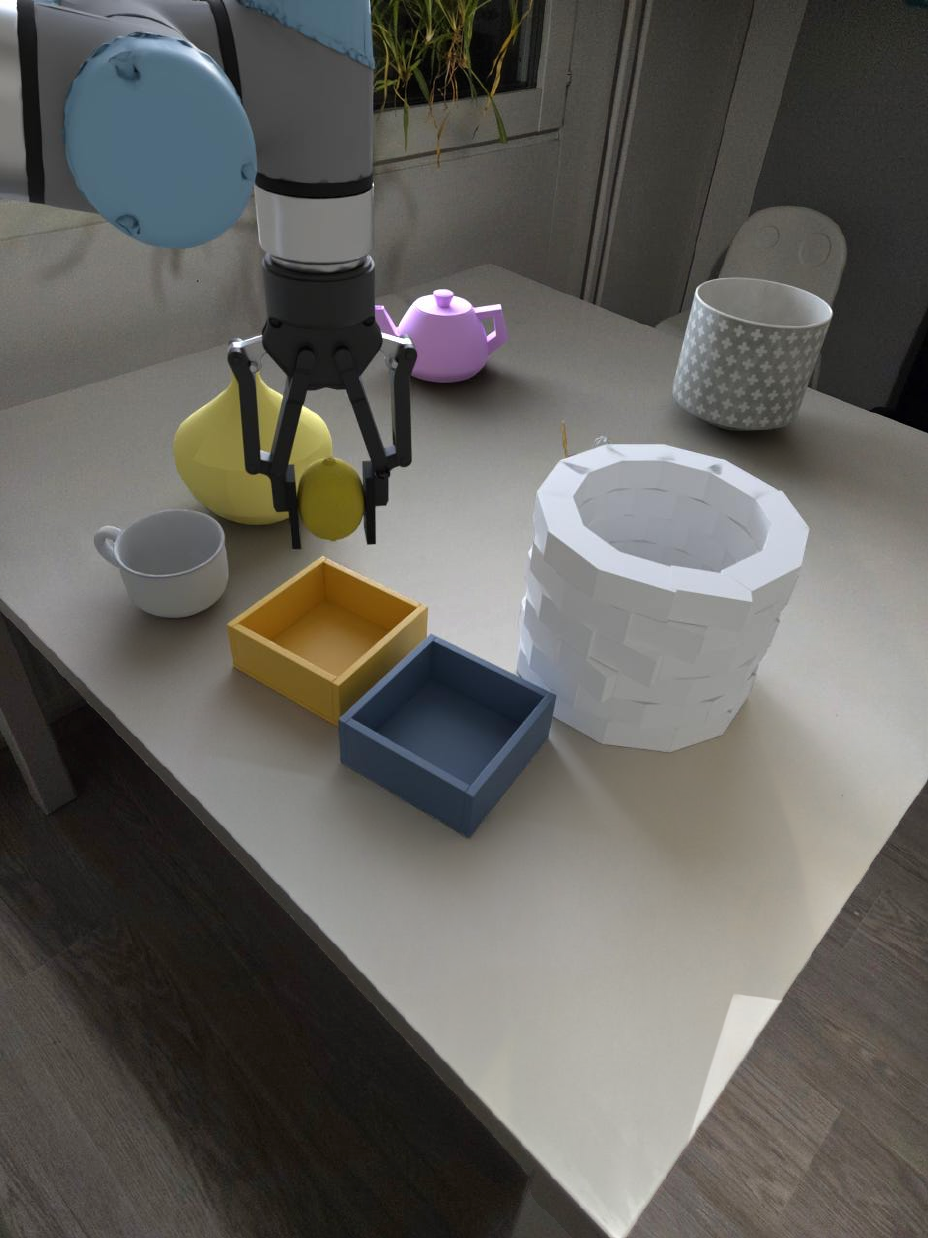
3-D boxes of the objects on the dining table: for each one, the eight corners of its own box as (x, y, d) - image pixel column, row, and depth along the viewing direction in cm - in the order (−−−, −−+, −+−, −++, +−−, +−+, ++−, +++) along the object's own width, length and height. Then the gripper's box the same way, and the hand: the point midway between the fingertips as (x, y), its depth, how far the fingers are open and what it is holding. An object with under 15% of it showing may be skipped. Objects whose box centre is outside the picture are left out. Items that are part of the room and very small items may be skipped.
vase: (314, 456, 112) (304, 316, 99) (353, 530, 99) (348, 381, 87) (174, 477, 106) (145, 330, 93) (197, 558, 93) (168, 402, 81)
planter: (659, 432, 123) (688, 311, 111) (675, 381, 137) (702, 269, 125) (789, 459, 119) (834, 336, 107) (792, 404, 133) (832, 290, 121)
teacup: (254, 587, 90) (245, 526, 85) (189, 646, 82) (175, 584, 77) (152, 550, 94) (138, 490, 89) (81, 603, 86) (61, 541, 81)
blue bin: (340, 762, 73) (337, 719, 69) (428, 674, 81) (430, 632, 78) (469, 839, 67) (473, 797, 64) (548, 737, 76) (556, 695, 73)
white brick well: (520, 578, 94) (541, 429, 82) (730, 603, 93) (783, 455, 81) (504, 745, 75) (528, 583, 63) (768, 779, 74) (844, 621, 62)
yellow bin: (233, 666, 81) (225, 624, 77) (324, 596, 89) (321, 555, 86) (340, 729, 75) (338, 686, 72) (426, 648, 84) (428, 606, 81)
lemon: (340, 567, 67) (337, 483, 62) (286, 545, 69) (279, 461, 64) (378, 535, 71) (378, 453, 66) (326, 514, 73) (322, 433, 68)
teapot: (498, 347, 143) (505, 276, 135) (512, 387, 132) (520, 311, 124) (371, 345, 141) (370, 273, 133) (374, 386, 129) (373, 309, 121)
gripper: (444, 236, 59) (432, 507, 75) (176, 235, 56) (221, 519, 71) (464, 271, 54) (447, 556, 69) (169, 273, 50) (219, 572, 66)
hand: (333, 537), depth 70 cm, fingers closed on lemon, 5 cm apart
